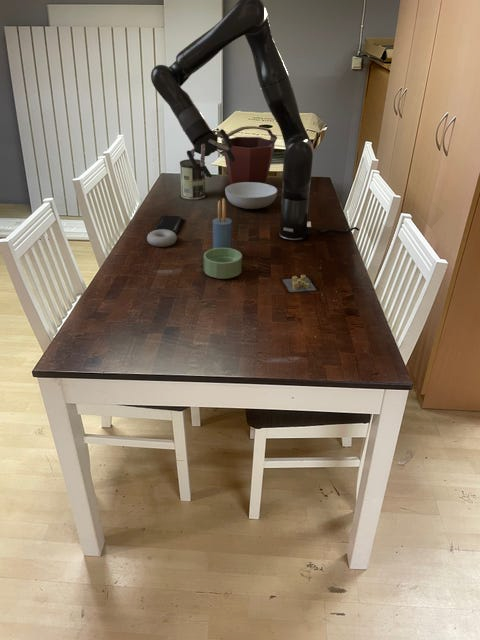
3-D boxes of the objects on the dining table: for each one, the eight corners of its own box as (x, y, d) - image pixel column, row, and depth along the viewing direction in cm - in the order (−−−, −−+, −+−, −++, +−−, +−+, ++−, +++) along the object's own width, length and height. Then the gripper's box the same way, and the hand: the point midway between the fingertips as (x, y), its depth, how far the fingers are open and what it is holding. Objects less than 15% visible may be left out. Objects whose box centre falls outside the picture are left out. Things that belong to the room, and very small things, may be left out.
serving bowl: (285, 203, 212) (286, 187, 208) (259, 218, 196) (260, 200, 193) (242, 194, 221) (243, 178, 217) (214, 207, 206) (214, 190, 202)
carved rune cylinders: (293, 289, 148) (293, 283, 147) (288, 281, 152) (288, 275, 151) (310, 288, 149) (310, 282, 148) (304, 280, 153) (305, 274, 152)
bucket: (273, 178, 242) (276, 122, 229) (277, 193, 224) (281, 132, 211) (221, 177, 242) (221, 121, 229) (221, 192, 223) (221, 131, 210)
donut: (143, 247, 171) (171, 249, 170) (142, 237, 170) (171, 239, 168) (153, 236, 180) (180, 238, 178) (152, 226, 178) (180, 228, 176)
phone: (182, 216, 193) (175, 231, 180) (182, 219, 194) (175, 234, 181) (161, 215, 194) (153, 230, 181) (162, 218, 194) (153, 233, 181)
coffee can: (206, 192, 222) (205, 159, 215) (204, 200, 214) (204, 165, 206) (182, 191, 222) (181, 158, 215) (179, 199, 214) (178, 165, 206)
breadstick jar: (232, 253, 169) (233, 196, 159) (230, 260, 163) (231, 202, 154) (214, 252, 169) (213, 195, 159) (211, 259, 164) (211, 201, 154)
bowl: (243, 264, 161) (243, 248, 158) (239, 281, 151) (240, 264, 149) (206, 262, 162) (206, 246, 159) (201, 279, 152) (201, 262, 149)
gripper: (174, 133, 158) (203, 179, 159) (213, 108, 158) (242, 154, 160) (176, 140, 165) (203, 184, 167) (213, 116, 166) (240, 160, 167)
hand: (222, 169), depth 163 cm, fingers open, 8 cm apart
